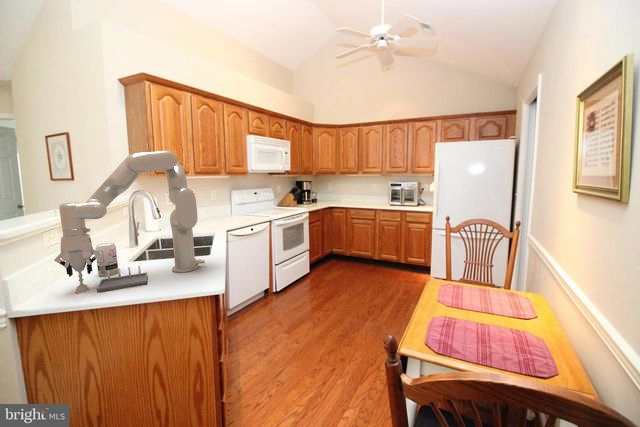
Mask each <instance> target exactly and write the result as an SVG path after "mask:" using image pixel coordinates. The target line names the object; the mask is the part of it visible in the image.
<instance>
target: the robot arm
mask: <svg viewBox="0 0 640 427" xmlns="http://www.w3.org/2000/svg"><path fill="white" fill-rule="evenodd" d="M159 171H162V172H163V173H164V174H165V175H166V179H167V180H166V181H167V184H168V186H167V187H168V198H169V201H170V202H171V204H172V205H175V209H174V210H173V211H171V213H170V216H169V224H170V227H171V228H170V229H171V234H172V246H173V247H172V248H173V257H174V266H172V267H171V271H172V272H173V273H188V272H189V273H190V272H192V271H195V270H197V269H198V268H199V266H200V265H199V264H205V262H206V261H205V259H202V258H201V259H200V258H199V259H196V257H195V245H194V233H193V228H194V227H195V226H196V225H197V223H198V220H199V218H198V208H197V198H196V195H195V193H194V191H193V190H192V189H190V188H189V187H188V183H187V176H186V172H185V169H184V167H183V165H182V164H181V163H180V162H179V161H178V157H177V155H176V154H175V153H174V152H172V151H171V150H158V151H148V152H134V153H131V154H129V155H127V157H126V158H124V160H123V161H122V162H121V163H120V164H119V165H118V167H116V169H114V170H113V171H112V173H111V174H110V175H109V176H108V177H107V178H106V179H105V181H104V182H103V183H101V185H100V186H99V187H97V189H96V191H94V192H93V194H92V195H91V196H90V197H89V198H88V199H87V200H86V201H85V202H84V203H83V202H82V203H81V202H65V203H61V204H60V205H58V206H59V208H58V209H59V215H60V223H61V232H62V236H61V237H60V253H59V254H58V255H57V256H56V257H55V258H54V260H53V261H54V262H55V263H57V264H59V265H60V266H63V267H64V268H65V269H66V271H65V272H66V274H67V275H68V277H69V278H70V277H72V276H73V274H74V272H73V268H72V266H71V265H70V263H69V260H70V254H69V253H68V252H78V251H83V252H82V256H83V258H84V259H85V260H86V262H87V263H86V270H87V272H86V273H87V274H88V275H91V273H92V272H93V264H92V263H94V261H95V262H96V260H97V258H98V257H99V256H100V253H98V252H97V251H95V249H94V248H93V243H92V242H93V241H92V238H91V236H90V234H89V233H90V232H91V228H87V226H86V220H99V219H102V218H103V217H105V215H106V214H107V210H108V209H107V208H108V206H110V204H111V203H112V202H113V201H114V200H115V199H116V198H117V197H118V196H120V195H122V194H123V193H125V192H126V191H127V190H129V188H130V187H131V186H132V185H133V183H134V182H135V181H136V180H137V179H138V178H139V177H140V176H141V174H142V173H147V172H148V173H149V172H159ZM92 256H93V257H92Z"/></svg>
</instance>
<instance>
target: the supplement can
mask: <svg viewBox="0 0 640 427" xmlns="http://www.w3.org/2000/svg"><path fill="white" fill-rule="evenodd" d="M94 250H95V251H97V252H98V253H100V256H99V257H98V258H97V259H96V265H97V272H98V276H100V277H108V274H107V270H109V272H110V277H111V276H115V275H116V274H117V275H118V269H119V263H118V254H117V246H116V245H115V243H114V242H106V243H100V244H99V243H98V244H96V247H95V249H94Z"/></svg>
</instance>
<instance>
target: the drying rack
mask: <svg viewBox="0 0 640 427" xmlns="http://www.w3.org/2000/svg"><path fill="white" fill-rule="evenodd" d="M137 267H138V268H137V269H138V273H134V274H131V272H132V271H131V266H128V267H127V270H128V275H122V276H121V268H118V272H117V275H118V276H116V277H115V276H114V277H111V276H110V272H109V270H107V274H108V276H107V278H102V279H100V281H99V284H98V285H97V286H96V292H97V294H100V293H106V292H110V291H111V292H112V291H116V290H117V291H118V290H123V289H130V288H134V287H136V288H137V287H141V286H147V285H148V278H149V277H148V272H142V271H141V266H140V265H138V266H137Z"/></svg>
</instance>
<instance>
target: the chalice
mask: <svg viewBox="0 0 640 427" xmlns="http://www.w3.org/2000/svg"><path fill="white" fill-rule="evenodd" d="M82 252H83V251H78V252H68V253H69V254H70V260H69V263H70V265H71V266H72V270H74V271H75V272H77V274H78V275H77V276H78V282H79V285H78V286H76V289H75V291H74V293H75V294H82V293H86V292H89V291H90V290H91V289H90V288H89V286H88V285H87V284H84V283H83V282H84V278H83V274H82V271H84V270H85V268H86V267H87V262H86V260H85V259H84V258H83V256H82Z"/></svg>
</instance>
